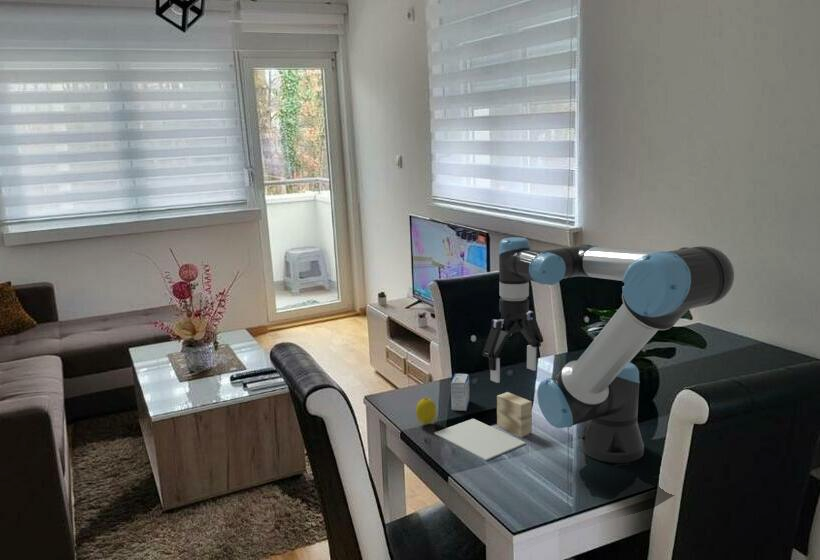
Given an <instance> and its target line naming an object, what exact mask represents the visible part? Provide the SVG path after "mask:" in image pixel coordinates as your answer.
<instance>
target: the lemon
mask: <svg viewBox="0 0 820 560" xmlns="http://www.w3.org/2000/svg"><path fill="white" fill-rule="evenodd" d="M415 414H416V418H417V420H418V421H419V422H420V423H422V424H424V425H425V426H428V425H429V424H430V423H433V421H434V420H435V418H436V416H437V407H436V405H435V402H434V401H433V400H432V399H430V398H428V397H424V398H422V399H420V400H419V401H418V402H417V404H416V408H415Z"/></svg>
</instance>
